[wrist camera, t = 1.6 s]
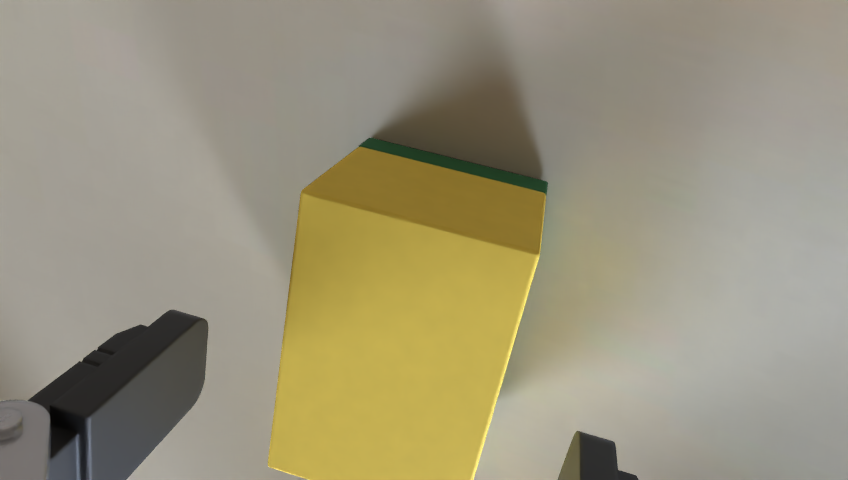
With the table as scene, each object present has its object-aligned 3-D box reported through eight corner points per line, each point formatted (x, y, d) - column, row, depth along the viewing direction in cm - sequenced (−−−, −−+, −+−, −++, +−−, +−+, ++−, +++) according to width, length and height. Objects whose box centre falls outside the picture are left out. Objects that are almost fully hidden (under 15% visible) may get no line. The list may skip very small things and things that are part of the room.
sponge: (369, 136, 18) (299, 189, 13) (548, 181, 17) (540, 252, 12) (332, 361, 21) (266, 467, 16) (483, 405, 20) (459, 529, 15)
